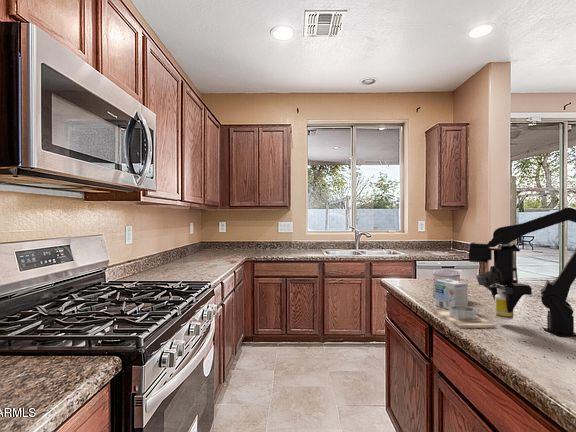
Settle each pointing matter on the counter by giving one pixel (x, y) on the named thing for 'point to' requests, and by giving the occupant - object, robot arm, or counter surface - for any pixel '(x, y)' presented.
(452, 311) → the duct collar
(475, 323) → the cream rectangular board
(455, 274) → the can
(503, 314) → the supplement bottle
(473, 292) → the counter surface
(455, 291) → the light bulb box
